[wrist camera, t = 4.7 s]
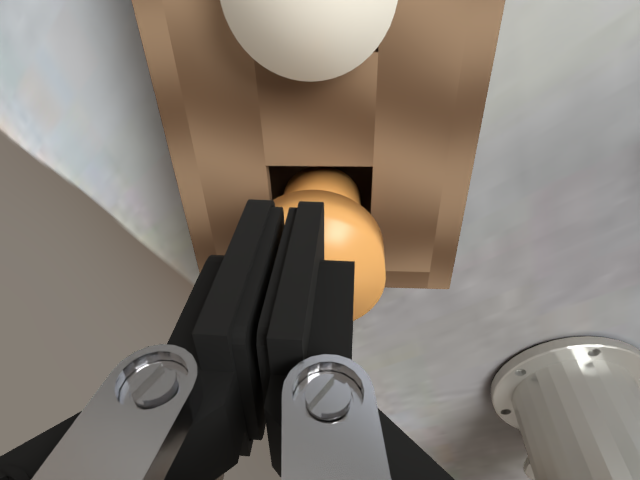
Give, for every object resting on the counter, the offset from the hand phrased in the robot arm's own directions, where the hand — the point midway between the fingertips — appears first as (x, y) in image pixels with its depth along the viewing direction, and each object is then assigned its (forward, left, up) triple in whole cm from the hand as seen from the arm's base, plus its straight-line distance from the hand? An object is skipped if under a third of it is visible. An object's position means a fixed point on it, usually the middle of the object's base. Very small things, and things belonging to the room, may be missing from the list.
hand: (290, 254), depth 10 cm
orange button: (-6, 0, -12) cm, 13 cm away
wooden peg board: (-1, 0, -17) cm, 17 cm away
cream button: (+4, 0, -15) cm, 15 cm away
